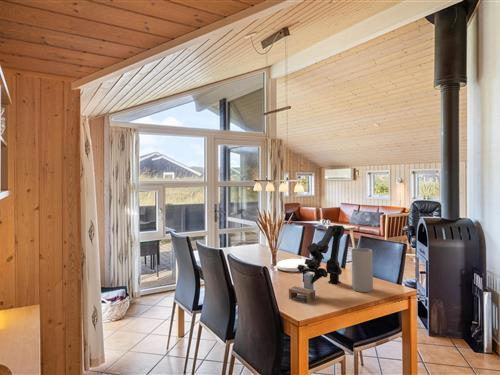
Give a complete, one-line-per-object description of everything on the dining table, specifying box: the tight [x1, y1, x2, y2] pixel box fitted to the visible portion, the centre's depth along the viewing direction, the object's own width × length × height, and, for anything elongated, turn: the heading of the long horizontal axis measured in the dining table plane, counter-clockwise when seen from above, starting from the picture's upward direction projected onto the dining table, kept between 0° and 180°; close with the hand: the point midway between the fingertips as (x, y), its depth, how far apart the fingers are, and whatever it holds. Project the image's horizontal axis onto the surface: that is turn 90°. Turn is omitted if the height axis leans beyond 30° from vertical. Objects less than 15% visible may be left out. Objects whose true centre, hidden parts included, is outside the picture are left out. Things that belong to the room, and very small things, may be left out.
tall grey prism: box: [296, 272, 315, 300], centre depth 201 cm, size 11×6×13 cm, turn 139°
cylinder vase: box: [350, 247, 374, 293], centre depth 213 cm, size 12×12×25 cm
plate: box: [276, 258, 309, 273], centre depth 270 cm, size 28×6×27 cm
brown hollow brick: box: [288, 285, 317, 304], centre depth 198 cm, size 7×14×6 cm, turn 49°
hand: (307, 282), depth 203 cm, fingers open, 6 cm apart
